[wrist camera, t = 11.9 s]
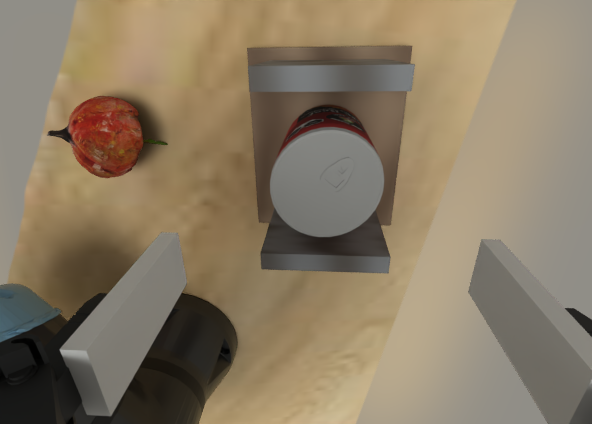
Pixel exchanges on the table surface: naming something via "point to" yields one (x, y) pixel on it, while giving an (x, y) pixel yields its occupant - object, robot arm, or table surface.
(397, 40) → the table surface
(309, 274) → the table surface
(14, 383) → the robot arm
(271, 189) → the canned food
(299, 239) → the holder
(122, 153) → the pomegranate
